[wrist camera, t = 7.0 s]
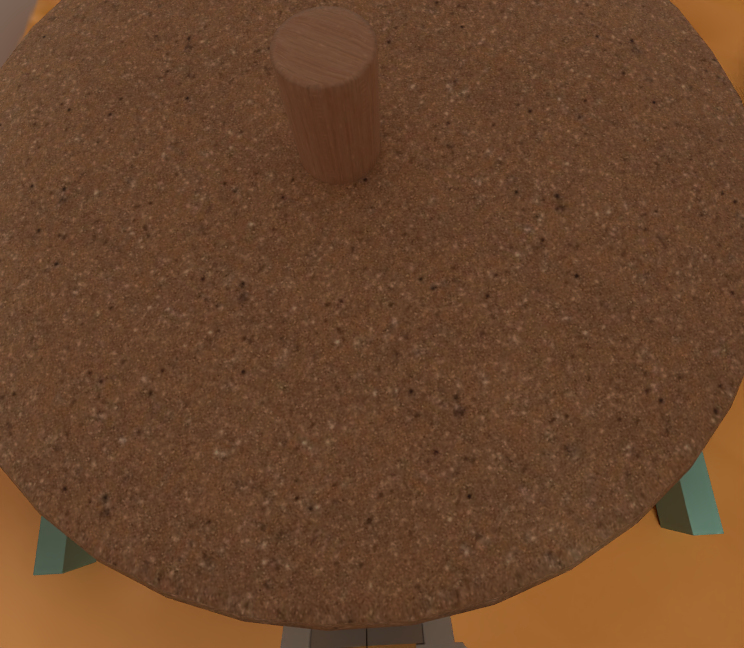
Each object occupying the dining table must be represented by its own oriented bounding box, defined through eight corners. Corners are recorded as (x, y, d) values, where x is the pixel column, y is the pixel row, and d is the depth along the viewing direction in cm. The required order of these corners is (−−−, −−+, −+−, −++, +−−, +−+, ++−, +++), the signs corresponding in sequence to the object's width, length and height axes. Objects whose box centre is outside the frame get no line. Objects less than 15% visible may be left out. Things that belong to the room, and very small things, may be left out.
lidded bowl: (461, 609, 13) (764, 1248, 2) (113, 406, 15) (-526, 281, 5) (608, 251, 16) (1029, -152, 5) (302, 123, 18) (178, -345, 8)
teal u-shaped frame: (688, 525, 13) (723, 533, 12) (70, 563, 14) (33, 575, 12) (573, 55, 19) (588, 21, 17) (126, 91, 19) (104, 61, 18)
